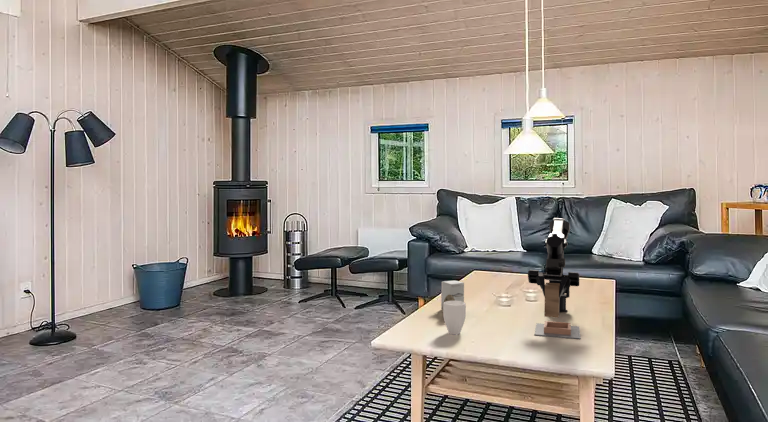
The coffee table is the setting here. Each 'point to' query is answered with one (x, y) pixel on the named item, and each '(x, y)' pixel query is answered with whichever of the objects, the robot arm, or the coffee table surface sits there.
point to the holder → (557, 330)
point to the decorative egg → (448, 299)
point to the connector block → (552, 300)
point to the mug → (454, 316)
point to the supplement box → (452, 290)
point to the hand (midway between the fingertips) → (551, 296)
